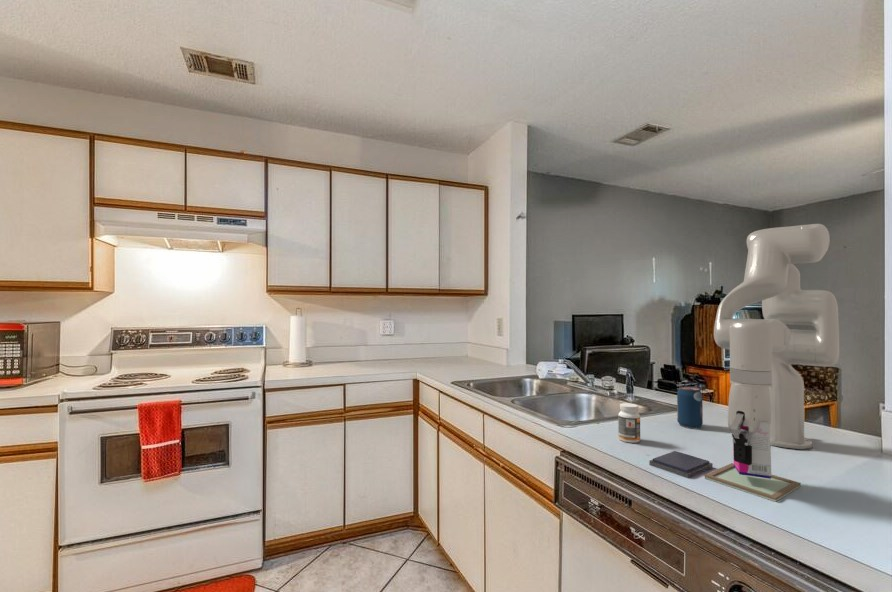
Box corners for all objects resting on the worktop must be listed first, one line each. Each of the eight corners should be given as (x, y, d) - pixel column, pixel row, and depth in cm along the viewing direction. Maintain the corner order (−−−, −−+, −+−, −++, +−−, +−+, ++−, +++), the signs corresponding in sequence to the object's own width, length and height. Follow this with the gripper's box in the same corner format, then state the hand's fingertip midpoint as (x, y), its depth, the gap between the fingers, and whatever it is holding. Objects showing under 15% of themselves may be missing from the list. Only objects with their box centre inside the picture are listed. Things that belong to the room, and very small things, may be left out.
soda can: (707, 429, 128) (707, 390, 129) (684, 429, 129) (684, 390, 129) (694, 422, 135) (694, 385, 136) (672, 422, 135) (672, 385, 136)
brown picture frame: (731, 466, 99) (731, 463, 99) (800, 486, 88) (800, 482, 88) (704, 478, 92) (704, 475, 92) (775, 501, 81) (775, 498, 81)
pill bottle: (642, 444, 114) (642, 407, 115) (620, 442, 116) (620, 406, 116) (637, 437, 120) (637, 403, 120) (616, 436, 121) (616, 402, 121)
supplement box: (764, 469, 92) (763, 417, 92) (771, 479, 86) (771, 424, 87) (732, 464, 94) (732, 414, 94) (738, 474, 89) (737, 420, 89)
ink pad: (674, 455, 106) (674, 449, 106) (712, 467, 98) (712, 461, 98) (649, 464, 100) (649, 458, 100) (688, 478, 92) (688, 471, 92)
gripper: (748, 371, 99) (749, 446, 98) (712, 378, 89) (713, 461, 89) (787, 376, 92) (788, 456, 92) (753, 384, 83) (754, 473, 82)
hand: (751, 458), depth 90 cm, fingers closed on supplement box, 7 cm apart
